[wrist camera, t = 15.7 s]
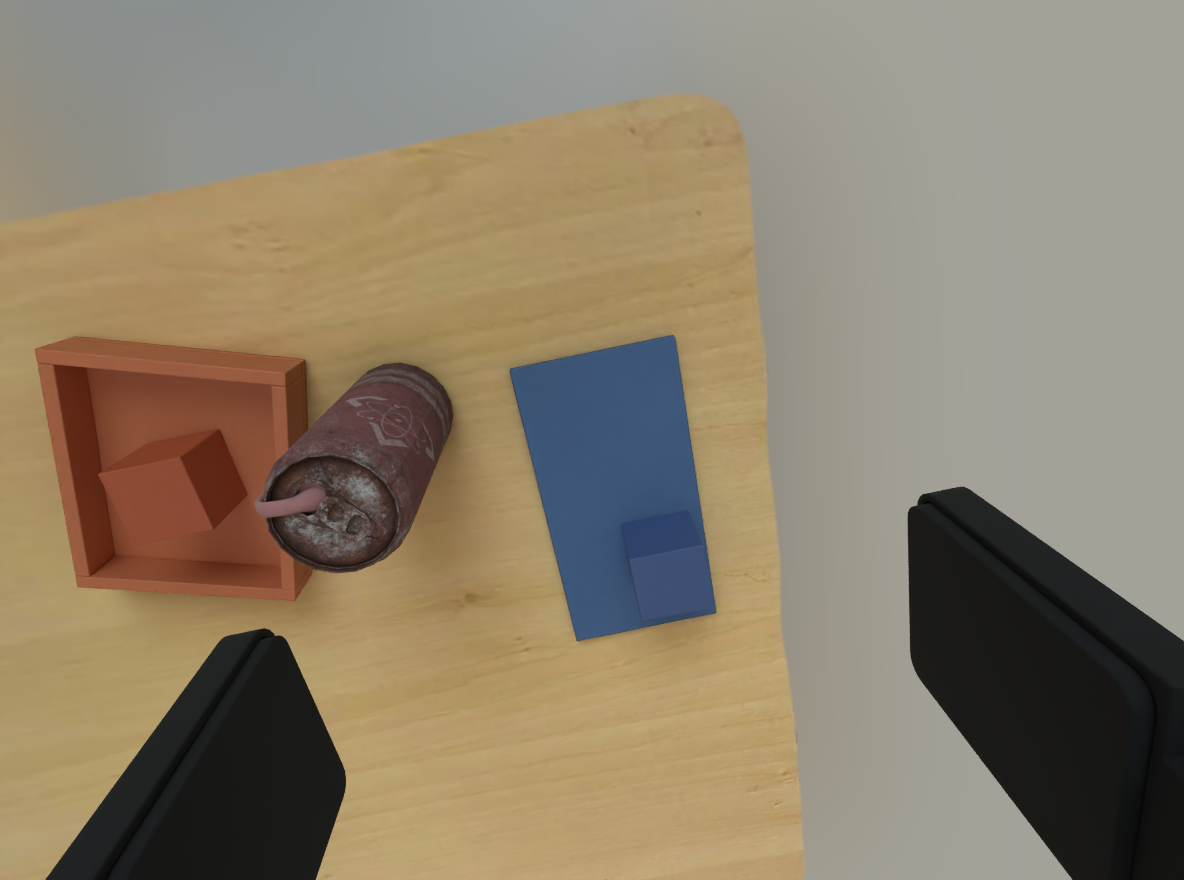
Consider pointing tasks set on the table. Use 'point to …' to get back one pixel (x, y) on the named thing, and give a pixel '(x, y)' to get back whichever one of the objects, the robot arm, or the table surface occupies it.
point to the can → (359, 471)
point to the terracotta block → (174, 487)
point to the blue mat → (608, 469)
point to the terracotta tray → (158, 412)
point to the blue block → (667, 565)
